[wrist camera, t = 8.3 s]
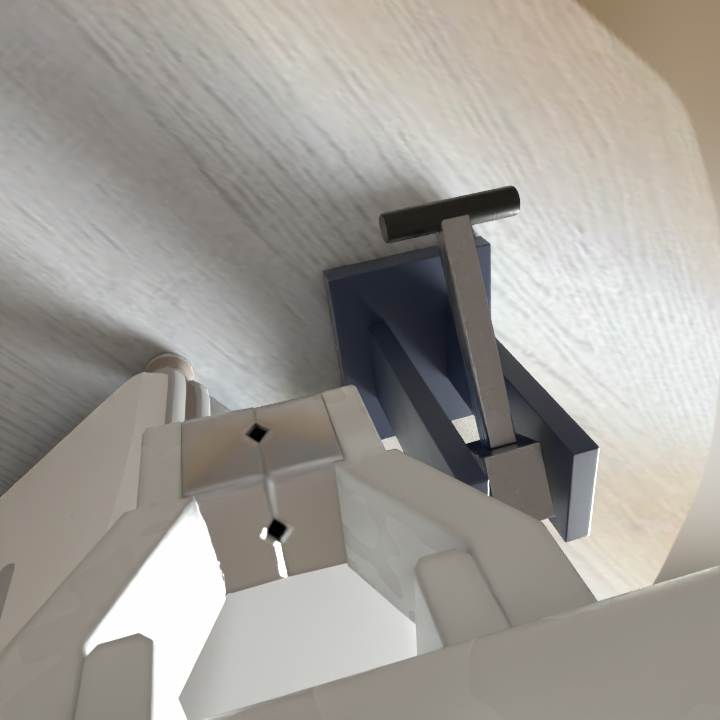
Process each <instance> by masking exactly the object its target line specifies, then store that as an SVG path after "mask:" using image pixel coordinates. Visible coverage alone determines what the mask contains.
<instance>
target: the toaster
mask: <svg viewBox="0 0 720 720" xmlns="http://www.w3.org/2000/svg"><path fill="white" fill-rule="evenodd" d="M192 380H193V370H192V366H191V364H190V363H189V362H188V361H187V359H186V358H184V357H182V356H180V355H178V354H172V353H165V354H160V355H157V356H156V357H154V358H153V359H151V360H150V361H149V363H148V364H147V366H146V369H145V372H142V373H140V374H138V375H135V376H134V377H132V378H130V379H129V380H128V381H126V382H125V383H124V384H123V385H122V386H120V387H119V388H118V389H117V390H116V391H115V392H114V393H112V394H111V395H110V396H109V397H108V398H107V399H106V400H105V401H104V402H103V403H101V404H100V405H99V406H98V407H97V408H96V409H95V410H94V411H93V412H92V413H91V414H90V415H89V416H87V417H86V418H85V419H84V420H83V421H82V422H81V423H80V424H79V425H78V426H77V427H76V428H75V429H73V430H72V431H71V432H70V433H69V434H68V435H67V436H66V437H65V438H64V439H63V440H62V441H61V442H59V443H58V444H57V445H56V446H55V447H54V448H53V449H52V450H51V451H50V452H49V453H48V454H46V455H45V456H44V457H43V458H42V459H41V460H40V461H39V462H38V463H37V464H36V465H35V466H34V467H32V468H31V469H30V470H29V471H28V472H27V473H26V474H25V475H24V476H23V477H22V478H21V479H20V480H18V481H17V482H16V483H15V484H14V485H13V486H12V487H11V488H10V489H9V490H8V491H7V492H6V493H4V494H3V495H2V496H1V497H0V652H1V651H2V650H3V649H4V648H5V647H6V645H7V644H8V643H9V642H10V641H11V640H12V639H13V638H14V636H15V635H16V634H17V633H18V632H19V631H20V630H21V629H22V627H23V626H24V625H25V624H26V623H27V622H28V621H29V620H30V618H31V617H32V616H33V615H34V614H35V613H36V612H37V610H38V609H39V608H40V607H41V606H42V605H43V604H44V603H45V601H46V600H47V599H48V598H49V597H50V596H51V595H52V594H53V592H54V591H55V590H56V589H57V588H58V587H59V586H60V585H61V583H62V582H63V581H64V580H65V579H66V578H67V577H68V575H69V574H70V573H71V572H72V571H73V570H74V569H75V568H76V566H77V565H78V564H79V563H80V562H81V561H82V560H83V559H84V557H85V556H86V555H87V554H88V553H89V552H90V551H91V550H92V548H93V547H94V546H95V545H96V544H97V543H98V542H99V541H100V539H101V538H102V537H103V536H104V535H105V534H106V533H107V531H108V530H109V529H110V528H111V527H112V526H113V525H114V524H115V522H116V521H117V520H118V519H119V518H120V517H121V516H122V515H123V513H124V512H127V511H131V510H135V509H136V505H137V493H138V481H139V469H140V457H141V445H142V435H143V433H144V431H145V430H146V428H151V427H155V426H160V425H165V424H169V423H174V422H179V421H180V422H183V421H184V420H190V419H195V418H200V417H205V416H210V415H216V414H221V413H226V412H231V411H230V410H229V409H227V408H226V407H225V406H223V405H222V404H221V403H219V402H218V401H217V400H215V399H214V398H213V397H211V396H210V395H208V390H207V388H206V387H204V386H203V385H201V384H199V383H197V382H195V381H192ZM286 575H287V574H286ZM225 598H226V600H225V602H224V604H223V606H222V608H221V610H220V612H219V614H218V616H217V618H216V620H215V623H214V625H213V627H212V629H211V631H210V633H209V635H208V637H207V639H206V641H205V643H204V645H203V647H202V650H201V652H200V654H199V656H198V658H197V660H196V662H195V664H194V666H193V668H192V670H191V672H190V675H189V677H188V679H187V681H186V683H185V685H184V687H183V689H182V691H181V693H180V695H179V697H178V699H179V701H180V704H181V706H182V708H183V711H184V713H185V715H186V718H187V720H202V719H206V718H209V717H213V716H216V715H219V714H223V713H226V712H229V711H233V710H236V709H239V708H243V707H246V706H249V705H253V704H256V703H260V702H263V701H266V700H270V699H273V698H276V697H280V696H283V695H286V694H290V693H293V692H296V691H300V690H303V689H307V688H310V687H313V686H317V685H320V684H323V683H327V682H330V681H333V680H337V679H340V678H343V677H347V676H350V675H354V674H357V673H360V672H364V671H367V670H370V669H374V668H377V667H380V666H384V665H387V664H390V663H394V662H397V661H401V660H404V659H407V658H411V657H414V656H417V641H416V624H414V623H413V622H412V621H411V620H410V619H409V618H408V617H406V616H405V615H404V614H403V613H402V612H401V611H399V610H398V609H397V608H396V607H395V606H394V605H392V604H391V603H390V602H389V601H388V600H387V599H386V598H384V597H383V596H382V595H381V594H380V593H379V592H377V591H376V590H375V589H374V588H373V587H372V586H371V585H369V584H368V583H367V582H366V581H365V580H364V579H362V578H361V577H360V576H359V575H358V574H357V573H356V572H354V571H353V570H352V569H351V568H350V567H349V566H348V563H345V564H341V565H337V566H333V567H328V568H324V569H320V570H316V571H312V572H307V573H303V574H299V575H295V576H290V577H286V578H283V579H279V580H276V581H272V582H269V583H266V584H262V585H259V586H255V587H252V588H249V589H245V590H242V591H238V592H235V593H231V594H228V595H225Z"/></svg>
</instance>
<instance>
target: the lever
mask: <svg viewBox="0 0 720 720" xmlns="http://www.w3.org/2000/svg"><path fill="white" fill-rule="evenodd" d="M519 210H520V198H519V194H518V191H517V190H516V188H515V187H514V186H506V187H502V188H497V189H492V190H488V191H483V192H478V193H473V194H469V195H464V196H459V197H455V198H450V199H445V200H440V201H436V202H431V203H426V204H422V205H417V206H412V207H407V208H403V209H398V210H393V211H389V212H384V213H381V214H380V217H379V225H380V231H381V234H382V237H383V240H384V241H385V243H393V242H397V241H402V240H406V239H411V238H416V237H420V236H425V235H429V234H434V233H435V235H436V240H437V244H438V249H439V254H440V258H441V263H442V267H443V272H444V277H445V281H446V286H447V290H448V295H449V300H450V304H451V309H452V313H453V318H454V322H455V327H456V332H457V336H458V341H459V345H460V350H461V355H462V359H463V364H464V368H465V373H466V378H467V382H468V387H469V391H470V396H471V401H472V405H473V410H474V414H475V419H476V423H477V428H478V433H479V437H480V440H478V441H475V442H471V443H467V444H466V445H467V447H468V448H469V450H470V451H471V453H472V454H473V456H474V457H475V459H476V460H477V462H478V463H479V465H480V466H481V468H482V470H483V471H484V473H485V474H486V476H487V477H488V479H489V496H491V497H493V498H495V499H497V500H499V501H501V502H503V503H505V504H507V505H509V506H511V507H513V508H515V509H517V510H519V511H521V512H523V513H525V514H527V515H529V516H531V517H533V518H535V519H537V520H539V521H541V520H544V519H548V518H551V517H554V516H555V510H554V506H553V501H552V496H551V491H550V486H549V481H548V477H547V472H546V467H545V462H544V457H543V453H542V448H541V443H540V442H538V441H536V440H533V439H531V438H528V437H526V436H523V435H521V434H519V433H516V432H515V429H514V425H513V420H512V415H511V410H510V406H509V401H508V396H507V392H506V387H505V382H504V377H503V373H502V368H501V363H500V358H499V354H498V349H497V344H496V340H495V335H494V330H493V325H492V321H491V316H490V311H489V307H488V302H487V297H486V292H485V288H484V283H483V278H482V274H481V269H480V264H479V259H478V255H477V250H476V245H475V240H474V236H473V231H472V226H471V225H474V224H479V223H484V222H488V221H493V220H497V219H502V218H506V217H511V216H515V215H517V214H518V212H519Z"/></svg>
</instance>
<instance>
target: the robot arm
mask: <svg viewBox="0 0 720 720" xmlns="http://www.w3.org/2000/svg"><path fill="white" fill-rule="evenodd" d="M345 563H348V566H349V567H350V568H351V569H352V570H353V571H354V572H356V573H357V574H358V575H359V576H360V577H361V578H362V579H364V580H365V581H366V582H367V583H368V584H369V585H371V586H372V587H373V588H374V589H375V590H376V591H377V592H379V593H380V594H381V595H382V596H383V597H384V598H386V599H387V600H388V601H389V602H390V603H391V604H392V605H394V606H395V607H396V608H397V609H398V610H399V611H401V612H402V613H403V614H404V615H405V616H406V617H408V618H409V619H410V620H411V621H412V622H413V623H414V624H416V641H417V656H414V657H411V658H407V659H404V660H401V661H397V662H394V663H390V664H387V665H384V666H380V667H377V668H374V669H370V670H367V671H364V672H360V673H357V674H354V675H350V676H347V677H343V678H340V679H337V680H333V681H330V682H327V683H323V684H320V685H317V686H313V687H310V688H307V689H303V690H300V691H296V692H293V693H290V694H286V695H283V696H280V697H276V698H273V699H270V700H266V701H263V702H260V703H256V704H253V705H249V706H246V707H243V708H239V709H236V710H233V711H229V712H226V713H223V714H219V715H216V716H213V717H209V718H206V719H202V720H720V565H719V566H716V567H712V568H709V569H706V570H702V571H699V572H695V573H692V574H689V575H685V576H682V577H679V578H675V579H672V580H669V581H665V582H662V583H659V584H655V585H652V586H648V587H645V588H642V589H638V590H635V591H631V592H628V593H625V594H621V595H618V596H615V597H611V598H608V599H605V600H601V601H597V600H596V598H595V597H594V595H593V594H592V593H591V591H590V590H589V588H588V587H587V585H586V584H585V582H584V581H583V580H582V578H581V577H580V575H579V574H578V572H577V571H576V570H575V568H574V567H573V565H572V564H571V562H570V561H569V560H568V558H567V557H566V555H565V554H564V552H563V551H562V549H561V548H560V547H559V545H558V544H557V542H556V541H555V539H554V538H553V537H552V535H551V534H550V532H549V531H548V529H547V528H546V526H545V525H544V524H543V522H541V521H539V520H537V519H535V518H533V517H531V516H529V515H527V514H525V513H523V512H521V511H519V510H517V509H515V508H513V507H511V506H509V505H507V504H505V503H503V502H501V501H499V500H497V499H495V498H493V497H491V496H489V495H487V494H485V493H483V492H481V491H479V490H477V489H475V488H473V487H471V486H469V485H467V484H465V483H463V482H461V481H459V480H457V479H455V478H453V477H451V476H449V475H447V474H445V473H443V472H441V471H439V470H437V469H435V468H433V467H431V466H429V465H427V464H425V463H423V462H421V461H419V460H417V459H415V458H413V457H411V456H409V455H408V454H406V453H404V452H402V451H400V450H398V449H392V450H388V451H386V450H385V448H384V445H383V443H382V441H381V439H380V437H379V435H378V433H377V430H376V428H375V426H374V424H373V422H372V420H371V418H370V416H369V413H368V411H367V409H366V407H365V405H364V403H363V401H362V398H361V396H360V394H359V392H358V390H357V388H356V387H355V386H354V385H348V386H344V387H340V388H335V389H331V390H327V391H323V392H320V393H318V394H314V395H309V396H305V397H300V398H296V399H292V400H287V401H283V402H278V403H274V404H270V405H265V406H261V407H256V408H253V407H252V408H247V409H242V410H237V411H231V412H226V413H221V414H216V415H210V416H205V417H200V418H195V419H190V420H184V421H183V422H180V421H179V422H174V423H169V424H165V425H160V426H155V427H151V428H146V430H145V431H144V433H143V435H142V445H141V457H140V469H139V481H138V493H137V505H136V509H135V510H131V511H127V512H124V513H123V515H122V516H121V517H120V518H119V519H118V520H117V521H116V522H115V524H114V525H113V526H112V527H111V528H110V529H109V530H108V531H107V533H106V534H105V535H104V536H103V537H102V538H101V539H100V541H99V542H98V543H97V544H96V545H95V546H94V547H93V548H92V550H91V551H90V552H89V553H88V554H87V555H86V556H85V557H84V559H83V560H82V561H81V562H80V563H79V564H78V565H77V566H76V568H75V569H74V570H73V571H72V572H71V573H70V574H69V575H68V577H67V578H66V579H65V580H64V581H63V582H62V583H61V585H60V586H59V587H58V588H57V589H56V590H55V591H54V592H53V594H52V595H51V596H50V597H49V598H48V599H47V600H46V601H45V603H44V604H43V605H42V606H41V607H40V608H39V609H38V610H37V612H36V613H35V614H34V615H33V616H32V617H31V618H30V620H29V621H28V622H27V623H26V624H25V625H24V626H23V627H22V629H21V630H20V631H19V632H18V633H17V634H16V635H15V636H14V638H13V639H12V640H11V641H10V642H9V643H8V644H7V645H6V647H5V648H4V649H3V650H2V651H1V652H0V720H187V718H186V715H185V713H184V711H183V708H182V706H181V704H180V701H179V699H178V697H179V695H180V693H181V691H182V689H183V687H184V685H185V683H186V681H187V679H188V677H189V675H190V672H191V670H192V668H193V666H194V664H195V662H196V660H197V658H198V656H199V654H200V652H201V650H202V647H203V645H204V643H205V641H206V639H207V637H208V635H209V633H210V631H211V629H212V627H213V625H214V623H215V620H216V618H217V616H218V614H219V612H220V610H221V608H222V606H223V604H224V602H225V600H226V598H225V595H228V594H231V593H235V592H238V591H242V590H245V589H249V588H252V587H255V586H259V585H262V584H266V583H269V582H272V581H276V580H279V579H283V578H286V577H290V576H295V575H299V574H303V573H307V572H312V571H316V570H320V569H324V568H328V567H333V566H337V565H341V564H345ZM286 574H287V575H286Z"/></svg>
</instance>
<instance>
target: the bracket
mask: <svg viewBox="0 0 720 720" xmlns="http://www.w3.org/2000/svg"><path fill="white" fill-rule="evenodd" d="M474 240H475V245H476V250H477V255H478V259H479V264H480V269H481V274H482V278H483V283H484V288H485V292H486V297H487V302H488V307H489V311H490V316H491V249H490V243H489V242H487V241H486V240H485V239H483V238H482V237H481V236H478V237H474ZM323 274H324V280H325V286H326V292H327V297H328V303H329V309H330V315H331V321H332V327H333V332H334V338H335V344H336V350H337V356H338V362H339V367H340V373H341V379H342V385H343V387H344V386H348V385H354V386H355V387H356V388H357V390H358V392H359V394H360V396H361V398H362V401H363V403H364V405H365V407H366V409H367V411H368V413H369V416H370V418H371V420H372V422H373V424H374V426H375V428H376V430H377V433H378V435H379V437H380V439H381V440H382V439H385V438H389V437H393V436H396V437H397V439H398V441H399V443H400V445H401V447H402V449H403V451H404V453H406V454H408V455H409V456H411V457H413V458H415V459H417V460H419V461H421V462H423V463H425V464H427V465H429V466H431V467H433V468H435V469H437V470H439V471H441V472H443V473H445V474H447V475H449V476H451V477H453V478H455V479H457V480H459V481H461V482H463V483H465V484H467V485H469V486H471V487H473V488H475V489H477V490H479V491H481V492H483V493H485V494H487V495H489V479H488V477H487V476H486V474H485V473H484V471H483V470H482V468H481V466H480V465H479V463H478V462H477V460H476V459H475V457H474V456H473V454H472V453H471V451H470V450H469V448H468V447H467V445H466V443H465V442H464V440H463V439H462V437H461V436H460V434H459V433H458V431H457V430H456V428H455V427H454V425H453V424H452V422H451V421H452V420H455V419H459V418H463V417H466V416H470V415H474V416H475V414H474V410H473V405H472V401H471V396H470V391H469V387H468V382H467V378H466V373H465V368H464V364H463V359H462V355H461V350H460V345H459V341H458V336H457V332H456V327H455V322H454V318H453V313H452V309H451V304H450V300H449V295H448V290H447V286H446V281H445V277H444V272H443V267H442V263H441V258H440V254H439V249H438V246H433V247H429V248H424V249H420V250H415V251H411V252H406V253H402V254H398V255H393V256H389V257H384V258H380V259H375V260H371V261H366V262H362V263H357V264H353V265H348V266H344V267H339V268H335V269H331V270H326V271H323ZM495 340H496V344H497V349H498V354H499V358H500V363H501V368H502V373H503V377H504V382H505V387H506V392H507V396H508V401H509V406H510V410H511V415H512V420H513V425H514V429H515V432H516V433H519V434H521V435H523V436H526V437H528V438H531V439H533V440H536V441H538V442H540V443H541V448H542V453H543V457H544V462H545V467H546V472H547V477H548V481H549V486H550V491H551V496H552V501H553V506H554V510H555V516H554V517H551V518H548V519H549V520H550V522H551V523H552V524H553V526H554V527H555V529H556V530H557V531H558V533H559V534H560V536H561V537H562V538H563V540H564V541H565V542H569V541H572V540H575V539H579V538H582V537H585V536H588V535H589V531H590V522H591V514H592V505H593V497H594V488H595V480H596V472H597V463H598V455H599V446H598V445H597V444H596V443H595V442H594V441H593V440H592V439H591V438H590V437H589V436H588V435H587V434H586V433H585V432H584V430H583V429H582V428H581V427H580V426H579V425H578V424H577V423H576V422H575V421H574V420H573V419H572V418H571V417H570V416H569V415H568V414H567V413H566V411H565V410H564V409H563V408H562V407H561V406H560V405H559V404H558V403H557V402H556V401H555V400H554V399H553V398H552V397H551V396H550V395H549V394H548V392H547V391H546V390H545V389H544V388H543V387H542V386H541V385H540V384H539V383H538V382H537V381H536V380H535V379H534V378H533V377H532V376H531V375H530V373H529V372H528V371H527V370H526V369H525V368H524V367H523V366H522V365H521V364H520V363H519V362H518V361H517V360H516V359H515V358H514V357H513V356H512V354H511V353H510V352H509V351H508V350H507V349H506V348H505V347H504V346H503V345H502V344H501V343H500V342H499V341H498V340H497V339H496V338H495Z"/></svg>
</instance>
